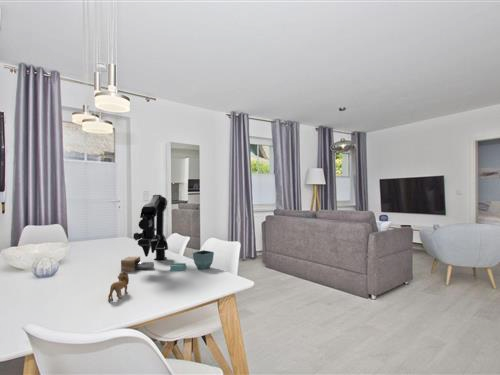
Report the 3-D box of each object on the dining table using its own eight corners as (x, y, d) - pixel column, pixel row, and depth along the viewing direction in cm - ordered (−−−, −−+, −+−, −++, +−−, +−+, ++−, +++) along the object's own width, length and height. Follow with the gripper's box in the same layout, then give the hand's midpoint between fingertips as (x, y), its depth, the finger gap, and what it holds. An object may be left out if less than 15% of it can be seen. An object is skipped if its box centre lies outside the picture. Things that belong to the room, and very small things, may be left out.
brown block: (128, 266, 169) (128, 256, 169) (140, 266, 169) (140, 256, 169) (121, 271, 160) (121, 260, 160) (133, 271, 160) (133, 260, 160)
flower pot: (203, 270, 159) (203, 254, 159) (192, 268, 164) (192, 252, 164) (214, 267, 166) (214, 251, 166) (203, 265, 171) (203, 250, 171)
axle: (129, 269, 167) (130, 262, 167) (153, 269, 166) (154, 262, 167) (126, 269, 163) (127, 262, 164) (151, 269, 162) (151, 262, 163)
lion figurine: (118, 290, 128) (118, 270, 128) (131, 290, 129) (130, 270, 129) (105, 303, 114) (105, 280, 114) (119, 302, 114) (119, 279, 114)
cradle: (174, 267, 167) (174, 262, 168) (186, 267, 167) (186, 262, 167) (170, 270, 159) (169, 266, 160) (182, 270, 159) (182, 266, 159)
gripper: (142, 225, 174) (142, 251, 174) (128, 229, 156) (128, 258, 155) (160, 225, 174) (160, 251, 173) (148, 229, 155) (148, 258, 155)
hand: (149, 254), depth 164 cm, fingers open, 9 cm apart
